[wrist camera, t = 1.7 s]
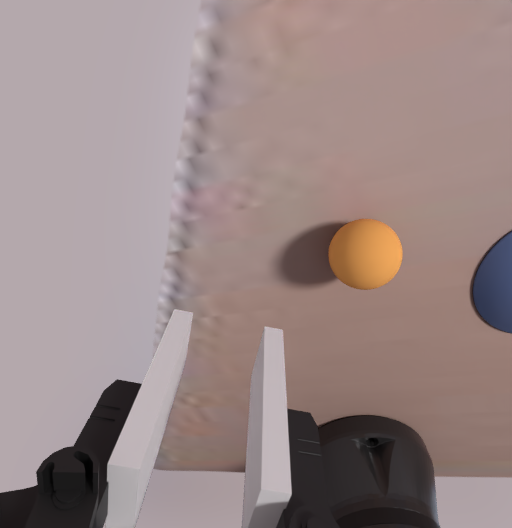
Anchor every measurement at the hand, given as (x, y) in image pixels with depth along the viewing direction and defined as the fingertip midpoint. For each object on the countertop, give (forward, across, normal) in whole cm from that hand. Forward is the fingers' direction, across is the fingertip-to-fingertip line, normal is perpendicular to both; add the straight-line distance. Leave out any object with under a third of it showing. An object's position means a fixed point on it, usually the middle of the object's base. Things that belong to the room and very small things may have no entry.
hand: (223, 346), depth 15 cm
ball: (+14, -10, 0) cm, 17 cm away
